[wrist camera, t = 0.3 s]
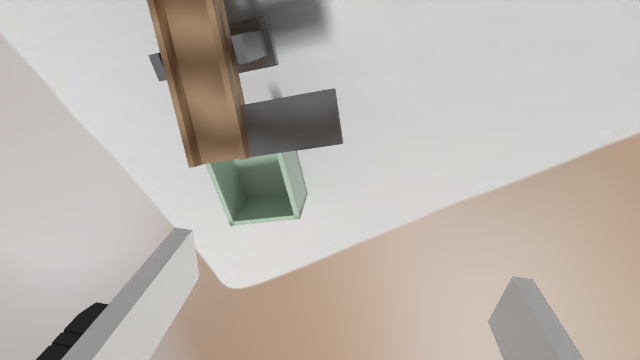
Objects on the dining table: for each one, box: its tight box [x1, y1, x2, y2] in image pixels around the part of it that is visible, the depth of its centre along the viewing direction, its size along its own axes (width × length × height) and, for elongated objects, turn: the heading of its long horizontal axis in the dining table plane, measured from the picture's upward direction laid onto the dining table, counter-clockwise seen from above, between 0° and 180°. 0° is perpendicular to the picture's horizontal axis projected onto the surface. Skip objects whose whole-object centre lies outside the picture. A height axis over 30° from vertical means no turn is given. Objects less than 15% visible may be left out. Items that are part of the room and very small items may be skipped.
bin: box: [206, 151, 307, 226], centre depth 39 cm, size 9×9×6 cm
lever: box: [147, 0, 343, 168], centre depth 27 cm, size 20×15×3 cm
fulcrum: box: [148, 16, 279, 81], centre depth 32 cm, size 5×10×8 cm, turn 102°
